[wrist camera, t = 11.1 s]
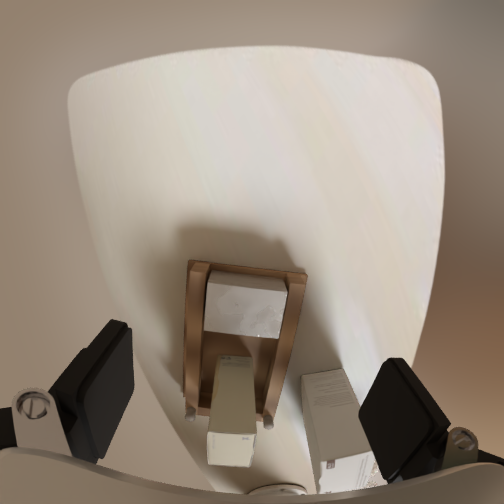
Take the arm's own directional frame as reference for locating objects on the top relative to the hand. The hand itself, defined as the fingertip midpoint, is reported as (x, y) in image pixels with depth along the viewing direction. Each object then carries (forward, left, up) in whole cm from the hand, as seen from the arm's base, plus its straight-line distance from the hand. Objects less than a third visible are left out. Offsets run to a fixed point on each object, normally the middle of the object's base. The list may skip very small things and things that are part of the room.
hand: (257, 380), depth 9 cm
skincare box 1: (-16, 0, -21) cm, 26 cm away
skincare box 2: (-19, -12, -22) cm, 31 cm away
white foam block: (-5, 0, -20) cm, 21 cm away
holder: (-12, 0, -21) cm, 24 cm away
